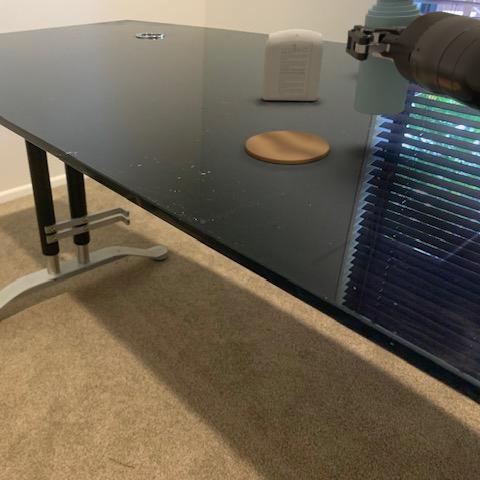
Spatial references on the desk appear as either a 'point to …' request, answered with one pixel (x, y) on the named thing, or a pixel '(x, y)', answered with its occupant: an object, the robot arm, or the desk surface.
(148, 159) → the desk surface
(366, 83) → the bottle
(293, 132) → the coaster
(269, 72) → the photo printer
